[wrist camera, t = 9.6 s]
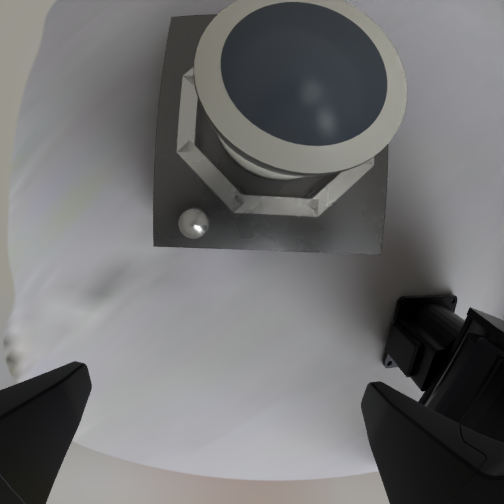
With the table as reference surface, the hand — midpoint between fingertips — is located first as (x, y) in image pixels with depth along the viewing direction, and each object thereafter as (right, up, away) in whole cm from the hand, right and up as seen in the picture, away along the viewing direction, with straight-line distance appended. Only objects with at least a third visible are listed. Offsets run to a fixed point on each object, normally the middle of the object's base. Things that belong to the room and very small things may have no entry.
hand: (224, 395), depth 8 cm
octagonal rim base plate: (+2, +12, +10) cm, 16 cm away
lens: (+2, +11, +5) cm, 12 cm away
